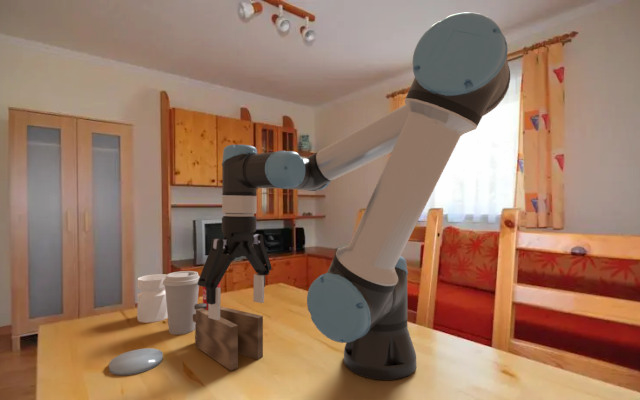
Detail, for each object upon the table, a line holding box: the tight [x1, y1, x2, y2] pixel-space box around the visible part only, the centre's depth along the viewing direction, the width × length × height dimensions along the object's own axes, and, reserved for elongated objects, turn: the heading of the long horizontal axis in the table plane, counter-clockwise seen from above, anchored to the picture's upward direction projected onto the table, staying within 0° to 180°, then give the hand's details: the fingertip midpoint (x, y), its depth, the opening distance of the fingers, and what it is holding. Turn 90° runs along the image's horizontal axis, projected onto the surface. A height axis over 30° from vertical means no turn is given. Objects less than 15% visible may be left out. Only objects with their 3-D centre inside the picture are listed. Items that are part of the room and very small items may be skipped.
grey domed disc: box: [108, 347, 164, 376], centre depth 71 cm, size 10×10×1 cm
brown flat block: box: [194, 302, 264, 360], centre depth 78 cm, size 19×4×9 cm, turn 59°
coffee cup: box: [163, 270, 200, 336], centre depth 90 cm, size 10×10×15 cm
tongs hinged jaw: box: [193, 308, 239, 371], centre depth 75 cm, size 19×2×9 cm, turn 45°
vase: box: [136, 273, 168, 324], centre depth 100 cm, size 9×9×12 cm
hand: (238, 309), depth 75 cm, fingers open, 13 cm apart
